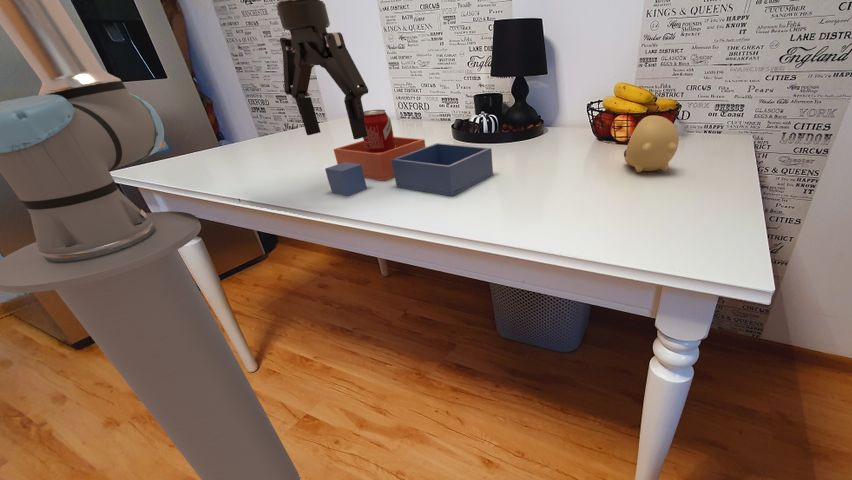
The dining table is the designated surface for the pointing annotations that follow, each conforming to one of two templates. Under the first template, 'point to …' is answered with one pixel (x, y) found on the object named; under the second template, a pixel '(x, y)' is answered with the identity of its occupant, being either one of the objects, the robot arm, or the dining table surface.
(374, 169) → the red bin
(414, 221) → the dining table surface
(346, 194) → the blue block
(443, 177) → the blue bin
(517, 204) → the dining table surface
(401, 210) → the dining table surface
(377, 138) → the soda can
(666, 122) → the toy pig
